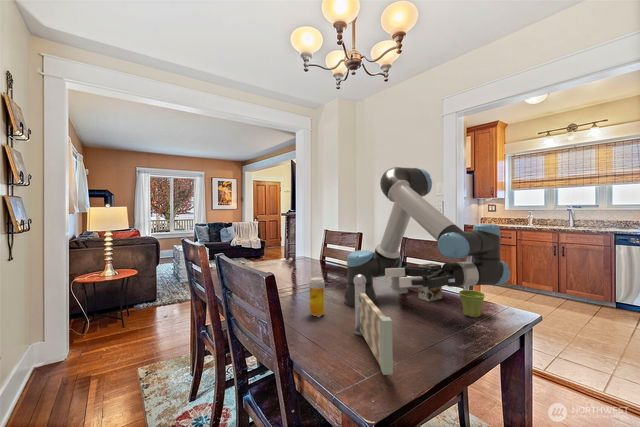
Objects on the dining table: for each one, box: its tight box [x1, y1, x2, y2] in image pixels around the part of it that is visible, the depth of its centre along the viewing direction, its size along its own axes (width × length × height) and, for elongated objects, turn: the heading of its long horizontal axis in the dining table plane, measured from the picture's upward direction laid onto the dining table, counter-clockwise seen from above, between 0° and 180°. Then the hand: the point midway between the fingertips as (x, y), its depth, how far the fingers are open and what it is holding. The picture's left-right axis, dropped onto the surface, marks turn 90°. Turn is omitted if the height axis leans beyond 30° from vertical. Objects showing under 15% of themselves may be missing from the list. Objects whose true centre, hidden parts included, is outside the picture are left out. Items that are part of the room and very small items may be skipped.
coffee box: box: [418, 262, 443, 302], centre depth 136 cm, size 9×6×16 cm
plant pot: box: [458, 289, 486, 318], centre depth 115 cm, size 9×9×9 cm
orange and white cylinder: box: [309, 276, 326, 317], centre depth 117 cm, size 6×6×15 cm
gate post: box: [353, 274, 366, 337], centre depth 100 cm, size 5×5×21 cm
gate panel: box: [359, 292, 394, 376], centre depth 85 cm, size 26×2×14 cm, turn 6°
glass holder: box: [389, 260, 409, 295], centre depth 151 cm, size 9×14×15 cm, turn 23°
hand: (392, 277), depth 88 cm, fingers open, 12 cm apart
